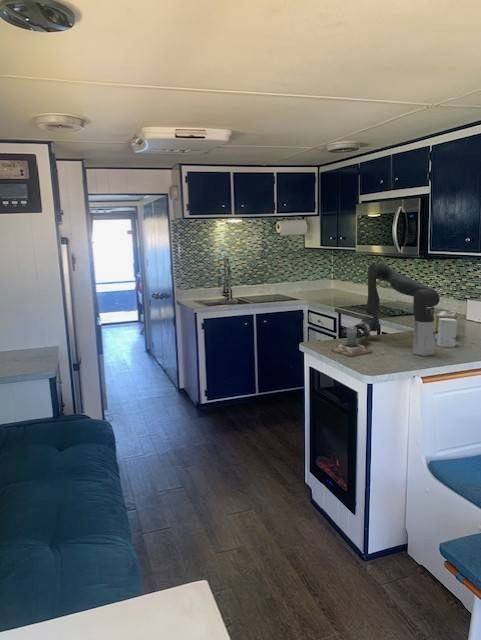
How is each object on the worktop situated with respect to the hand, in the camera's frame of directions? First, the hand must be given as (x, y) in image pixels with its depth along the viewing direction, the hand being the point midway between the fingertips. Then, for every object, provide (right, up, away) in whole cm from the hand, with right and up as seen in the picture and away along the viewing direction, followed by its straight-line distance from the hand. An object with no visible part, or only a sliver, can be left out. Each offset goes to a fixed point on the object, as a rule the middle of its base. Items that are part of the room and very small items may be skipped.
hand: (351, 335), depth 248 cm
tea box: (+62, -2, +30) cm, 70 cm away
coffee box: (+55, 0, +43) cm, 70 cm away
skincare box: (+54, -6, +12) cm, 56 cm away
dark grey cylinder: (+1, -8, +2) cm, 8 cm away
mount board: (+1, -9, +2) cm, 9 cm away
